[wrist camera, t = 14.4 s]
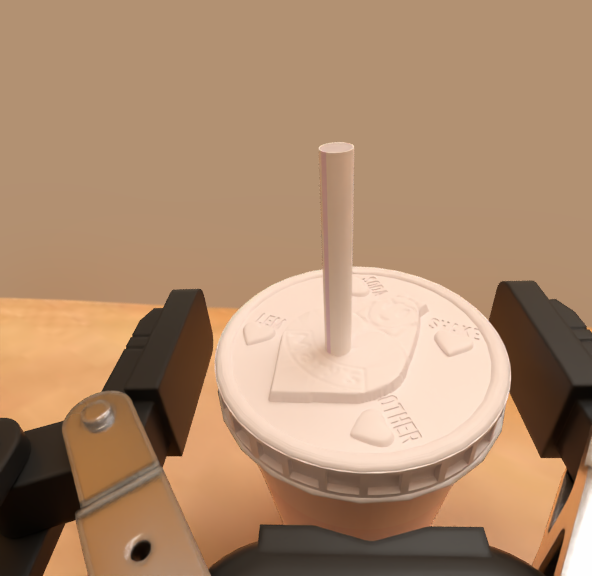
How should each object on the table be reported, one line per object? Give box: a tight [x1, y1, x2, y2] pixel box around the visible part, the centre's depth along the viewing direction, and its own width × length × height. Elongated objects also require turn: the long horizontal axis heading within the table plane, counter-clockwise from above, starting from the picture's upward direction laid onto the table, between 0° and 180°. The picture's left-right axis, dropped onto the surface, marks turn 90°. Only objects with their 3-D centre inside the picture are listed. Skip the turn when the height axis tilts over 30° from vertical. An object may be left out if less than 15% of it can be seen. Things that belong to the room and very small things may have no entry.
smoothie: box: [215, 142, 511, 541], centre depth 11 cm, size 6×6×14 cm
